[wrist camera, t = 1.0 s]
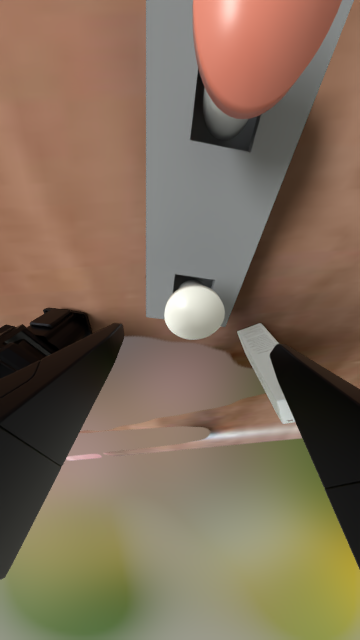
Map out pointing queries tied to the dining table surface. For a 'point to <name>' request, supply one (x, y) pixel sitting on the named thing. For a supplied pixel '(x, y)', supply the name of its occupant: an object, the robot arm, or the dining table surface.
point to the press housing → (210, 163)
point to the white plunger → (194, 311)
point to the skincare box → (265, 366)
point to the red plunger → (254, 54)
